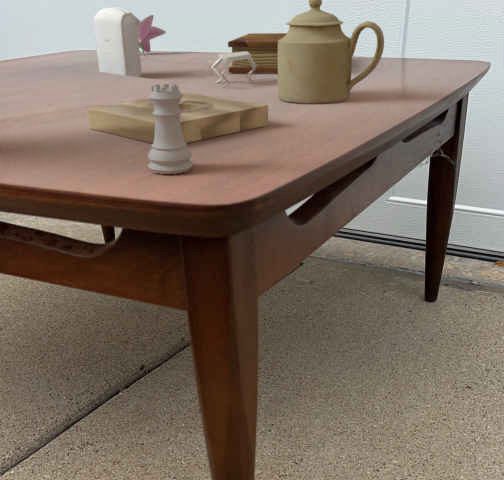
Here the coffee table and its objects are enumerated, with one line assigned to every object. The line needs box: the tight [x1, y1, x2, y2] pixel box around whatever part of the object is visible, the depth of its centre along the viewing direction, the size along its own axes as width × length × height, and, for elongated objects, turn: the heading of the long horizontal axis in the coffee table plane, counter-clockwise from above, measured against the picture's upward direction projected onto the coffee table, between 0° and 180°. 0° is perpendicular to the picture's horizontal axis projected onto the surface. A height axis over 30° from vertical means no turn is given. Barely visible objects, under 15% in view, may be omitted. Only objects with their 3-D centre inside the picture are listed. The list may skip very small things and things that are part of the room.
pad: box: [87, 92, 269, 144], centre depth 87 cm, size 16×16×2 cm
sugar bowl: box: [277, 0, 385, 105], centre depth 102 cm, size 15×11×15 cm
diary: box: [227, 32, 287, 74], centre depth 141 cm, size 23×19×6 cm
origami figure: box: [210, 51, 257, 89], centre depth 119 cm, size 12×8×5 cm
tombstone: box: [93, 6, 142, 78], centre depth 129 cm, size 10×4×12 cm, turn 44°
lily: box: [135, 14, 167, 54], centre depth 166 cm, size 12×12×10 cm
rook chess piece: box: [147, 83, 194, 175], centre depth 66 cm, size 4×4×8 cm
